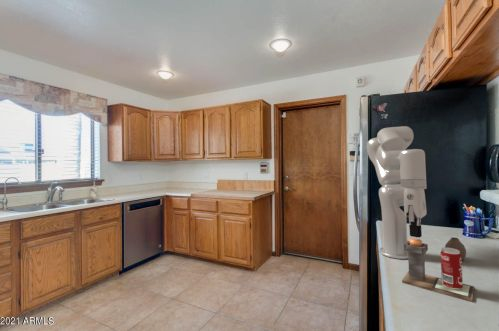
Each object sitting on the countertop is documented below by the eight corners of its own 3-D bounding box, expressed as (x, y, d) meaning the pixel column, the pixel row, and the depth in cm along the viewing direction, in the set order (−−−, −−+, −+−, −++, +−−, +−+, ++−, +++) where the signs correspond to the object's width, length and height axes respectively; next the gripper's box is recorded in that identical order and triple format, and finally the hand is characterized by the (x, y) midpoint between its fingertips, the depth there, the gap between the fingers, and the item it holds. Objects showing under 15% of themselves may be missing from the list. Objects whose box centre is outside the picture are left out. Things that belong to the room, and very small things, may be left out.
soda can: (452, 281, 81) (450, 246, 81) (467, 289, 76) (465, 252, 76) (437, 283, 80) (436, 247, 80) (452, 291, 75) (450, 253, 75)
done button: (408, 246, 85) (408, 240, 85) (411, 243, 87) (410, 237, 87) (420, 248, 82) (420, 242, 82) (423, 245, 85) (422, 239, 85)
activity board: (402, 282, 84) (400, 245, 84) (409, 272, 91) (407, 238, 91) (472, 302, 71) (470, 258, 71) (474, 288, 78) (472, 249, 78)
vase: (441, 256, 105) (440, 236, 105) (457, 255, 105) (456, 235, 105) (453, 262, 98) (453, 241, 98) (471, 261, 98) (470, 240, 98)
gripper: (421, 186, 77) (424, 243, 76) (430, 183, 87) (432, 233, 87) (395, 185, 82) (397, 239, 82) (406, 182, 92) (408, 230, 92)
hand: (415, 236), depth 84 cm, fingers closed
